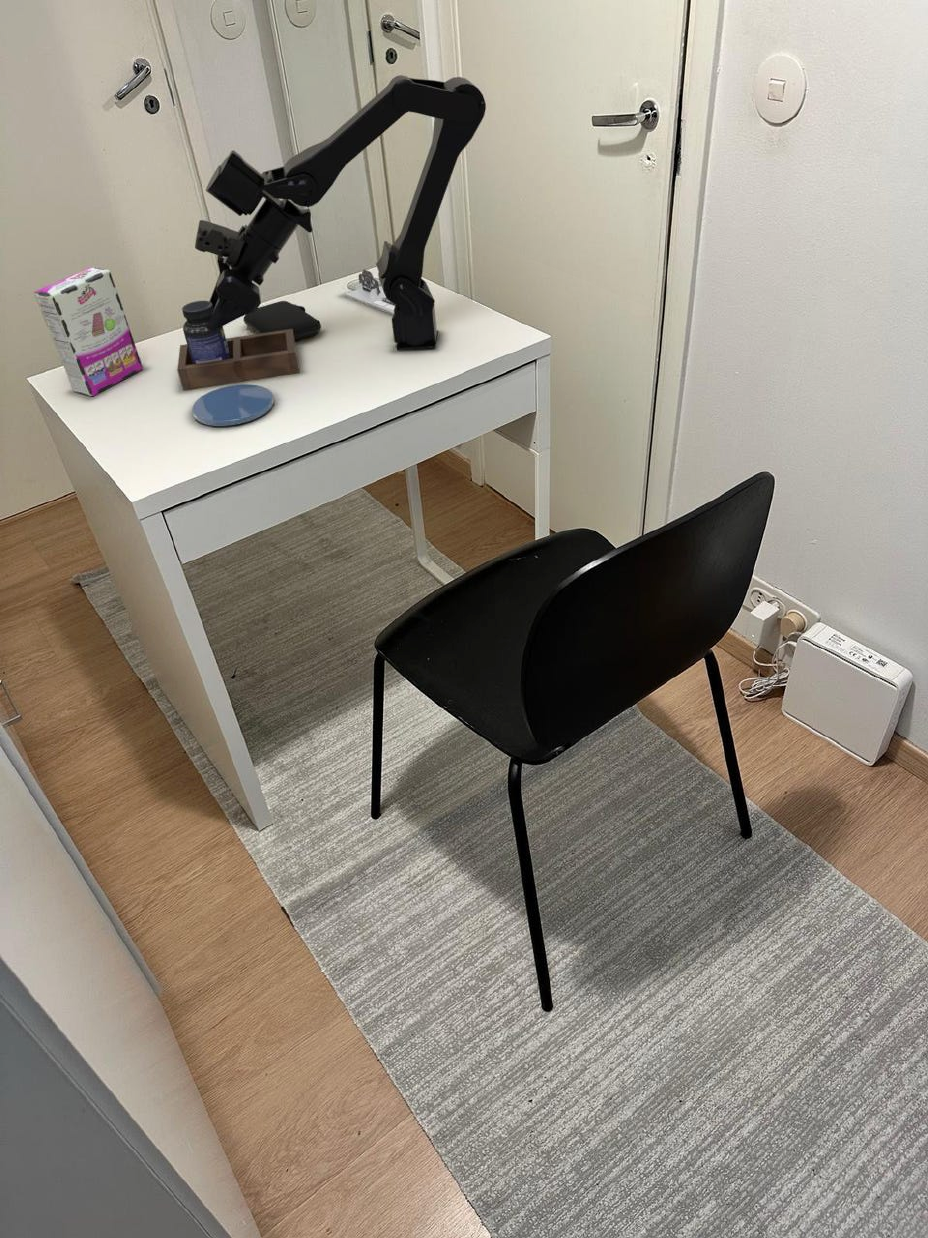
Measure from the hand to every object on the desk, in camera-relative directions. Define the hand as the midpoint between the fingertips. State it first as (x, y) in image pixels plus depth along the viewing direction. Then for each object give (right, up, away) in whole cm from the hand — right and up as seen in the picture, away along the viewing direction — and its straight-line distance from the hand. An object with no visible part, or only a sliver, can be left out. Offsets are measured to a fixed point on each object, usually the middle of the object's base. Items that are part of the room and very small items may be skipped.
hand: (210, 318), depth 140 cm
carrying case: (+9, +3, +17) cm, 19 cm away
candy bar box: (-18, -8, +6) cm, 21 cm away
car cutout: (+25, +12, +25) cm, 37 cm away
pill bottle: (-1, -7, +6) cm, 9 cm away
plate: (+5, -15, -5) cm, 17 cm away
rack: (+3, -6, +6) cm, 9 cm away
